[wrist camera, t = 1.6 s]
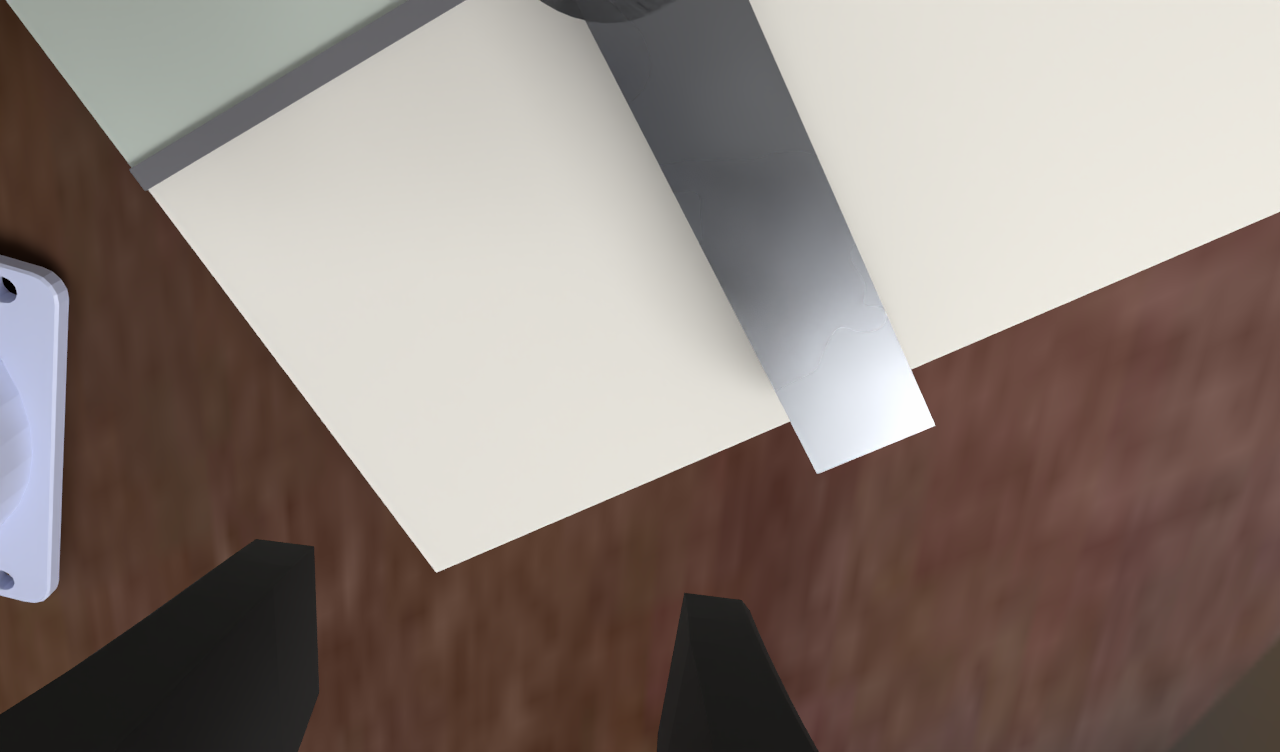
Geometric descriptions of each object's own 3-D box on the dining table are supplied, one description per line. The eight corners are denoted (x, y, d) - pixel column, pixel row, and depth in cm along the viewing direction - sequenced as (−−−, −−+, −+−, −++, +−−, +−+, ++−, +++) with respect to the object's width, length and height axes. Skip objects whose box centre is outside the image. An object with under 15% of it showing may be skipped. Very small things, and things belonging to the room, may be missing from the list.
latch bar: (449, -168, 12) (426, -179, 11) (663, -307, 11) (662, -334, 10) (775, 450, 16) (783, 488, 15) (950, 377, 15) (972, 410, 14)
